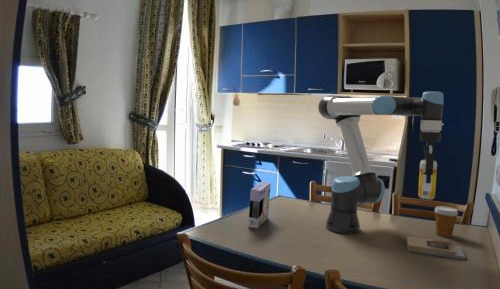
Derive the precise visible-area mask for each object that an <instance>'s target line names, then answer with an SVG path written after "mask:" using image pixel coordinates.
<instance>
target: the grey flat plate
mask: <svg viewBox="0 0 500 289" xmlns="http://www.w3.org/2000/svg"><path fill="white" fill-rule="evenodd" d="M427 245H428V246H429V247H435V248H442V249H448V248H447V246H441V245H435V244H428V243H427ZM453 246H454V249H455V251H456V255H450V254H443V253H437V252H431V251H424V250H422V253H421V254H425V255H431V256H438V257H443V258H451V259H456V260H457V259H458V260H463V261H466V255H465V253H464V250H463V249H462V247H461V246H456V245H453Z"/></svg>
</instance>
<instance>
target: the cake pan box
mask: <svg viewBox="0 0 500 289" xmlns="http://www.w3.org/2000/svg"><path fill="white" fill-rule="evenodd" d="M271 183H272V182H271ZM271 183H270V182H268V181H267V182H266V181H261V182H260V183H259V184H256V185H255V186H254V187H252V188H251V189H250V193H249V194H250V196H249V208H248V210H249V211H248V225H247V226H248V228H251V229H256V230H257V229H259V227H260V226H262V225H263V224H264V222H265V221H267V219H268V218H269V210H270V207H269V206H270V197H271V196H270V195H271Z"/></svg>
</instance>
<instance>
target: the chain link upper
mask: <svg viewBox="0 0 500 289" xmlns="http://www.w3.org/2000/svg"><path fill="white" fill-rule="evenodd" d="M427 243H428V244H435V245H441V246H447V248H448V249H442V248H435V247H429V246H428V245H427ZM454 246H455V245H453V242H450V241H449V242H448V241H442V240H438V239H437V240H436V239H430V238H422V237H415V236H411V235H410V236H406V249H407V252H412V253H418V254H423V253H422V250H424V251H431V252H437V253H443V254H450V255H456V251H455V249H454Z"/></svg>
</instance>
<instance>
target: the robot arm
mask: <svg viewBox="0 0 500 289" xmlns="http://www.w3.org/2000/svg"><path fill="white" fill-rule="evenodd" d="M317 108H318V112H319V114H320V115H321V117H323V118H325V119H326V120H335V123H336V126H337V127H338V128H340V131H341V134H342V135H341V136H342V138H343V141H344V145H345V150H346V153H347V157H348V160H349V164H350V168H351V172H352V175H347V176H346V175H341V176H338V177H336V178H334V179H333V180H332V185H331V197H330V198H331V199H330V211H329V214H328V216H327V219H326V221H325V228H326V229H327V230H329V231H331V232H335V233H338V234H339V233H340V234H357V233H359V232H360V231H361V224H360V220H359V216H358V206H359V205H369V204H370V205H371V204H374V203H378V202H380V201H382V199H383V197H384V195H385V192H386V187H385V186H386V185H385V184H384V181H383V180H382V179H381V178H378V177H377V173H376V171H374V170H372V168H371V165H370V161H369V159H368V153H367V150H366V147H365V144H364V140H363V137H362V132H361V129H360V126H359V122H360V121H361V116H367V115H368V116H403V117H415V116H416V117H418V116H419V117H421V118H420V129H419V130H420V133H419V141H420V142H426V145H423V151H424V153H423V156H424V160H426V169H425V173H423V174H425V177H424V191H429V192H431V190H432V174H433V162H434V161H435V160H434V158H435V155H436V154H435V152H436V148H437V147H436V146H434V145H435V144H434V143H440V142H441V140H442V133H441V132H440V131H442V128H443V127H442V126H444V123H443V110H444V93H443V92H441V91H423V93H422V96H420V97H413V96H411V97H410V96H409V97H406V96H393V95H384V94H383V95H379V96H361V97H353V96H349V95H347V96H346V95H344V96H343V95H326V96H323V98H321V100H320V101H319V103H318V106H317Z"/></svg>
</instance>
